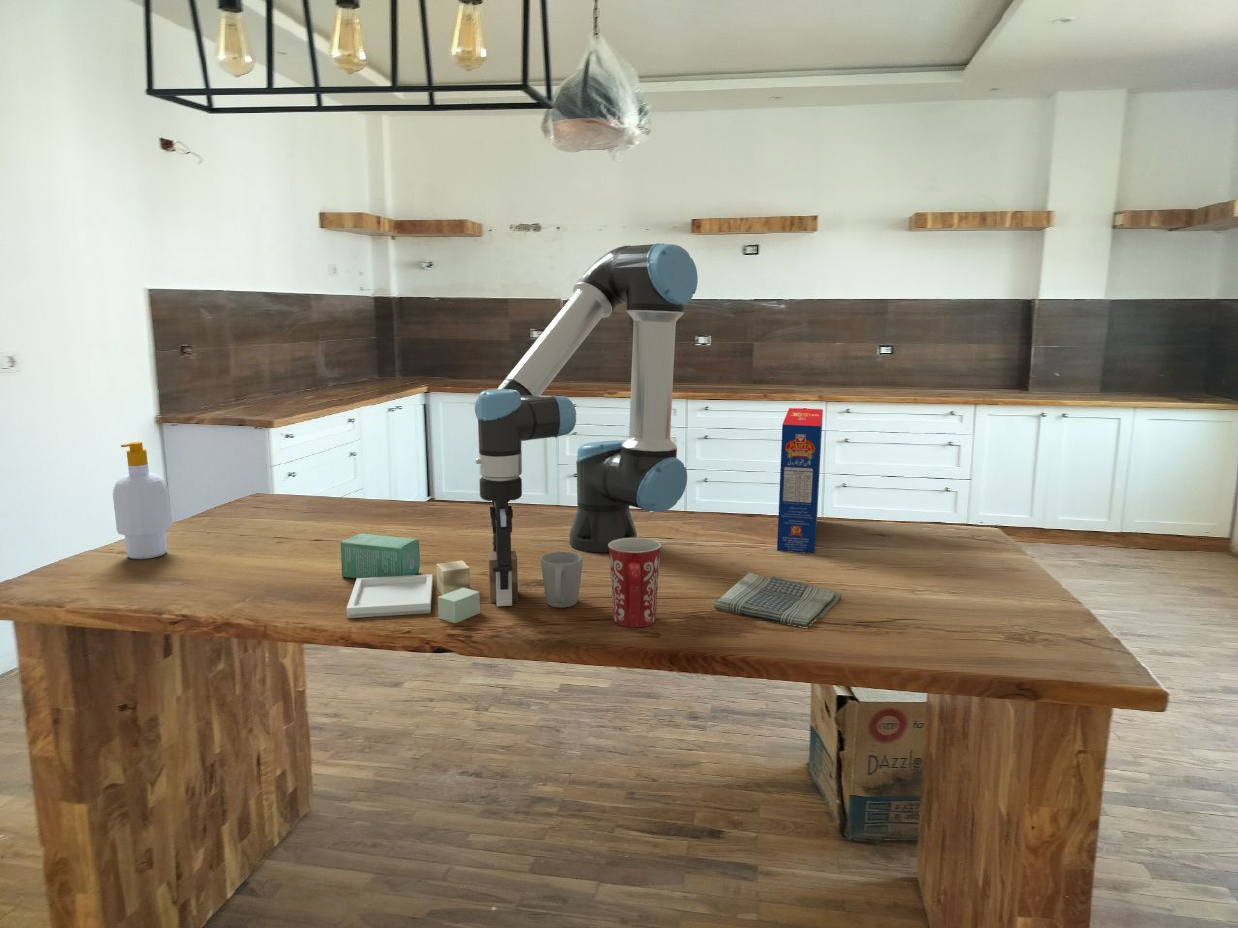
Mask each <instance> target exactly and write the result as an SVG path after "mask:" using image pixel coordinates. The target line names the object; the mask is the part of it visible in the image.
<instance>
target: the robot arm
mask: <svg viewBox="0 0 1238 928" xmlns="http://www.w3.org/2000/svg"><path fill="white" fill-rule="evenodd" d="M698 276H699V275H698V270H697V266H696V263H695V261H694V259H693V258H692V257H691V255H690V253H689V251H687V250H686V249H685V248H684V247H682V246H680V245H678V244H674V243H673V244H671V243H664V242H662V243H653V244H637V245H622V246H619V247H616V248H614V249H611V250H610V251H608V252H606V253H605V254H603V256H601V257H600V258H598V260H596V261H595V262H594V263H593V264H592V265H590V267H589V268H588V269H587V270H586V271H585V272H584V273H583V274H582V276H581V277H580V278H579V279H578V280H577V282H576V283H575V284H574V285H573V286H572V287H573V288H572V293H573V294H572V296H571V297H570V298H569V300H568V301H567V302H566V303H565V304H564V306H563V307H562V308H561V309H560V311H559V312H557V314H556V315H555V317H554V318H553V319H552V320H551V322H550V323H549V324H548V325H547V326H546V328H545V329H544V330H543V332H542V333H541V334H540V335H539V336H538V337H537V339H536V340H535V341H534V342H533V344H532V345H531V346H530V348H528V350H527V351H526V352H525V354H524V355H523V356H522V357H521V358H520V360H519V361H518V362H517V364H516V365H515V366H514V368H512V370H511V371H510V372H509V374H508V375H507V376H506V377H505V379H503V380H502V382H501V383H500V385H499V386H498V387H497V388H496V389H486V390H482V391H481V392H480V393H479V395H478V396H477V398H476V400H475V404H474V413H475V416H476V418H477V428H478V429H477V431H478V433H477V434H478V453H479V455H478V457H479V458H476V459H475V464H477V465H479V475H480V476H481V477H480V478H479V496H480V498H481V499H482V500H484V501H487V502H491V504H492V506H489V517H490V523H491V525H490V526H491V527H492V537H493V538H492V546H493V548H492V552H496V558H497V567H496V568H493V572H496V600H497V602H496V607H507V606H509V607H510V606H513V601H512V572H511V571H512V561H511V551H512V536H511V534H512V533H513V517H514V510H513V509H512V508H513V507H512V505H509V502H510V501H516V500H518V499H521V497H522V496H523V483H522V477H520V476H521V475H522V473H523V462H522V461H523V457H522V442H526V441H531V440H541V439H547V438H555V439H557V438H559V437H561V436H566V435H569V434H570V433H572V432H573V430H574V429H575V426H576V424H577V410H576V406H575V404H574V403H573V402H572V400H571V399H570V398H568V397H567V396H564V395H562V396H559V395H558V396H556V395H551V396H541V395H542V394H543V393H544V391H546V389H547V388H548V387H549V385H550V384H551V382H552V381H553V380H554V379H555V378H556V376H557V375H558V374H559V372H560V371H561V370H562V368H564V366H565V365H566V363H568V361H569V360H570V359H571V357H572V356H573V355H574V354H575V352H576V351H577V350H578V348H579V347H580V346H581V345H582V343H583V342H584V341H585V340H586V338H587V337H588V336H589V334H590V333H591V332H592V330H593V329H594V328H595V327H596V325H597V324H599V321H601V320H602V318H608V317H610V316H611V315H612V313H613V312H614V311H615V310H616V308H619V307H620V306H622V305H624V304H626V313H627V314H628V315H629V316H630V317H631V318H632V321H633V331H632V351H631V352H632V353H631V355H632V357H631V378H630V402H629V403H630V405H629V429H628V431H629V432H628V437H627V438H626V439H625V440H624V439H623V440H619V439H618V440H604V441H603V440H602V441H596V442H595V441H594V442H587V443H583V444H581V445H580V446H579V447H578V449H577V457H576V462H575V463H576V497H577V498H576V500H577V503H576V504H577V505H576V507H577V509H576V513H575V517H574V518H573V522H572V525H571V529H570V531H569V546H571V547H572V548H574V549H577V550H580V551H585V552H589V553H590V552H591V553H609V548H608V544H609V543H610V542H611V541H614V540H617V539H622V538H638V533H637V530H636V526H635V522H634V520H633V516H632V514H631V511H630V507H633V508H638V509H640V510H642V511H645V512H655V513H663V512H666V511H668V510H670V509H672V508H673V507H674V506H676V505H677V503H678V501H680V499H682V497H683V495H684V493H685V491H686V487H687V483H688V472H687V471H688V470H687V468H686V466H685V465H684V462H682V461H681V460H680V459H679V458H677V456H678V455H677V454H678V452H677V451H678V446H677V445H676V444H675V442H674V441H673V440H672V439H671V429H672V407H673V391H674V390H673V387H674V369H675V368H674V366H675V365H674V364H675V347H676V346H675V345H676V344H675V343H676V324H677V321H679V319H680V318H681V317H682V316H683V315H684V314H685V304H687V303H688V302H690V301H691V300H692V298H694V296H693V295H695V293H696V291H697V288H698V283H699V281H698V280H699V279H698ZM501 564H502V565H501Z"/></svg>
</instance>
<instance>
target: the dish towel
mask: <svg viewBox="0 0 1238 928" xmlns="http://www.w3.org/2000/svg"><path fill="white" fill-rule="evenodd" d="M842 596H843V594H842V593H840V592H839V591H837V590H834V589H831V588H824V587H818V586H812V585H809V584H805V583H802V582H800V581H799V582H798V581H794V580H788V579H784V578H781V577H777V576H774V575H772V576H771V577H769V578H767V577H766V576H762V575H758V574H756V573H753V572H747V574H746V575H745V576H743V577H742V578H741V579H740V580H739V581H738V582H737V583H735V584H734V585H733V586H732V587H731V588H730V589H729V590H727V591H726V592H725V594H723V595H722V596H721V597H720V598H718V599H716V600H715V602H714V605H713V607H714V609H715V610H717V611H720V612H721V611H722V612H725V613H732V614H736V615H739V616H745V617H749V618H754V619H758V620H763V619H765V620H764V621H767V620H770V621H769V622H772V621H775V622H774V623H776V622H779V623H778V624H781V623H784V624H783V625H785V624H790V625H796V626H801V627H808V626H809V625H810V624H812V621H814V620H815V619H818V620H819V619H821V618H822V617H823V616H825V615H826V614H827V613H828V612H829V611H831V610H832V608H834V607H835V606H836V605H837V604H838V603H839V602H840V600H841V598H842ZM834 605H835V606H834ZM833 606H834V607H833ZM826 612H827V613H826ZM825 613H826V614H825ZM824 614H825V615H824ZM821 616H822V617H821ZM820 617H821V618H820ZM790 625H789V626H790ZM812 625H813V624H812Z"/></svg>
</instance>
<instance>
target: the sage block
mask: <svg viewBox="0 0 1238 928" xmlns="http://www.w3.org/2000/svg"><path fill="white" fill-rule="evenodd" d="M480 593H481V592H480V591H478V590H474V589H471V588H470V589H467V588H464V587H463V588H460V589H458V590H455V591H452V592H450V593H447V594H444V595H442V594H441V595H439V596H437V608H438V610H437V611H438V619H440V620H443V621H447V622H450V623H452V624H457V623H460V622H463V621H465V620H467V619H469V618H472V617H474V616H476V615H479V614H480V613H481V601H480V600H481V598H480V597H481V596H480V595H481V594H480Z"/></svg>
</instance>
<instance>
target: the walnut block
mask: <svg viewBox="0 0 1238 928" xmlns="http://www.w3.org/2000/svg"><path fill="white" fill-rule="evenodd" d="M517 557H518V556H517V552H516V550H511V561H512V571H511V572H512V602H518V601H519V579H518V578H519V575H518V572H519V571H518V558H517ZM487 558H488V559H487V562H488V563H487V564H488V593H489V595H488V596H489V603H490V604H492V603H497V600H496V572H493V568H496V567H497V558H496V552H494V551H488V552H487ZM501 565H502V564H501Z"/></svg>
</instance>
